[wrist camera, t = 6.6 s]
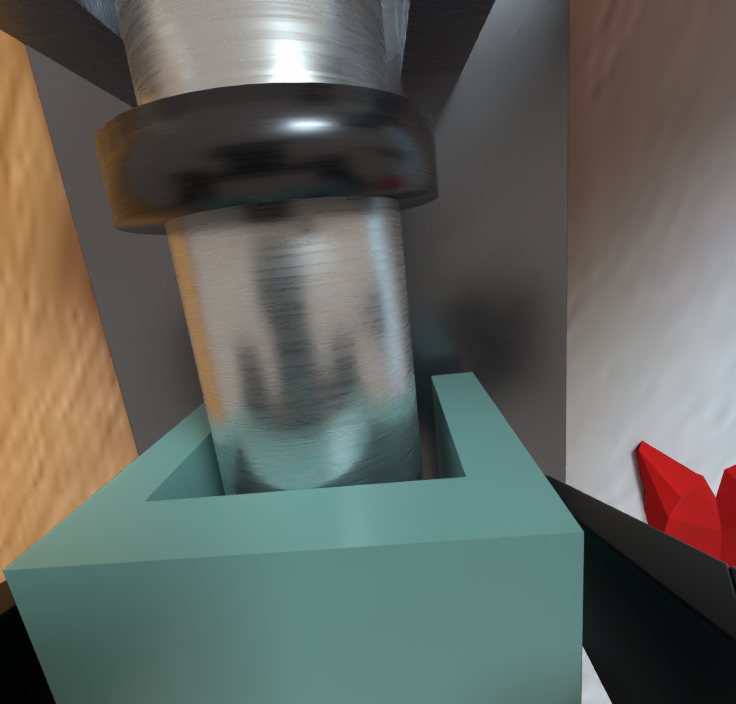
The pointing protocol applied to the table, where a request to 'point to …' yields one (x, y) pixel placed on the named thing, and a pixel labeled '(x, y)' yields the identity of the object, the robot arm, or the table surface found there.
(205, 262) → the shaft
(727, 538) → the cloth
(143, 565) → the bracket
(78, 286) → the table surface
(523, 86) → the bearing stand
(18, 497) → the table surface
